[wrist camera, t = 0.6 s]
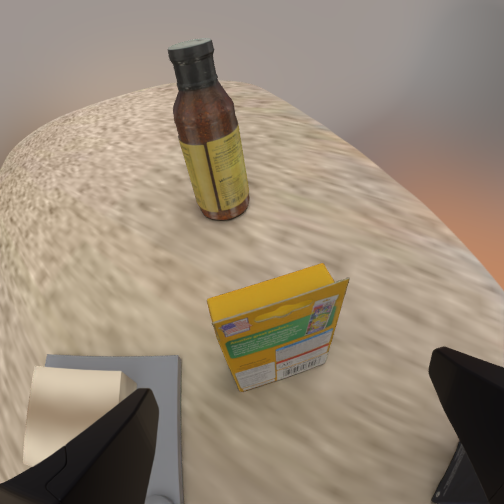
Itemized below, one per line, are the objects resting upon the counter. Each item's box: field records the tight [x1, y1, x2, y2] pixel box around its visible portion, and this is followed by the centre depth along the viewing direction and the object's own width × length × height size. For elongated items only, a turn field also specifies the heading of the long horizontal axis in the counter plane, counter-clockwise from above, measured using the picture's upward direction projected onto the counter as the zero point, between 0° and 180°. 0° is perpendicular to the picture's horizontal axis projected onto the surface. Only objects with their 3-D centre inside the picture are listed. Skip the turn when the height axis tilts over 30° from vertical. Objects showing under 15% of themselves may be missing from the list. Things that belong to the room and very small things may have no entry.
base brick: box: [23, 366, 137, 467], centre depth 18 cm, size 9×9×3 cm
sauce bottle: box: [168, 38, 249, 220], centre depth 30 cm, size 7×6×20 cm
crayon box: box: [207, 263, 350, 392], centre depth 20 cm, size 7×3×12 cm, turn 108°
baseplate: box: [45, 354, 184, 504], centre depth 17 cm, size 20×14×2 cm
